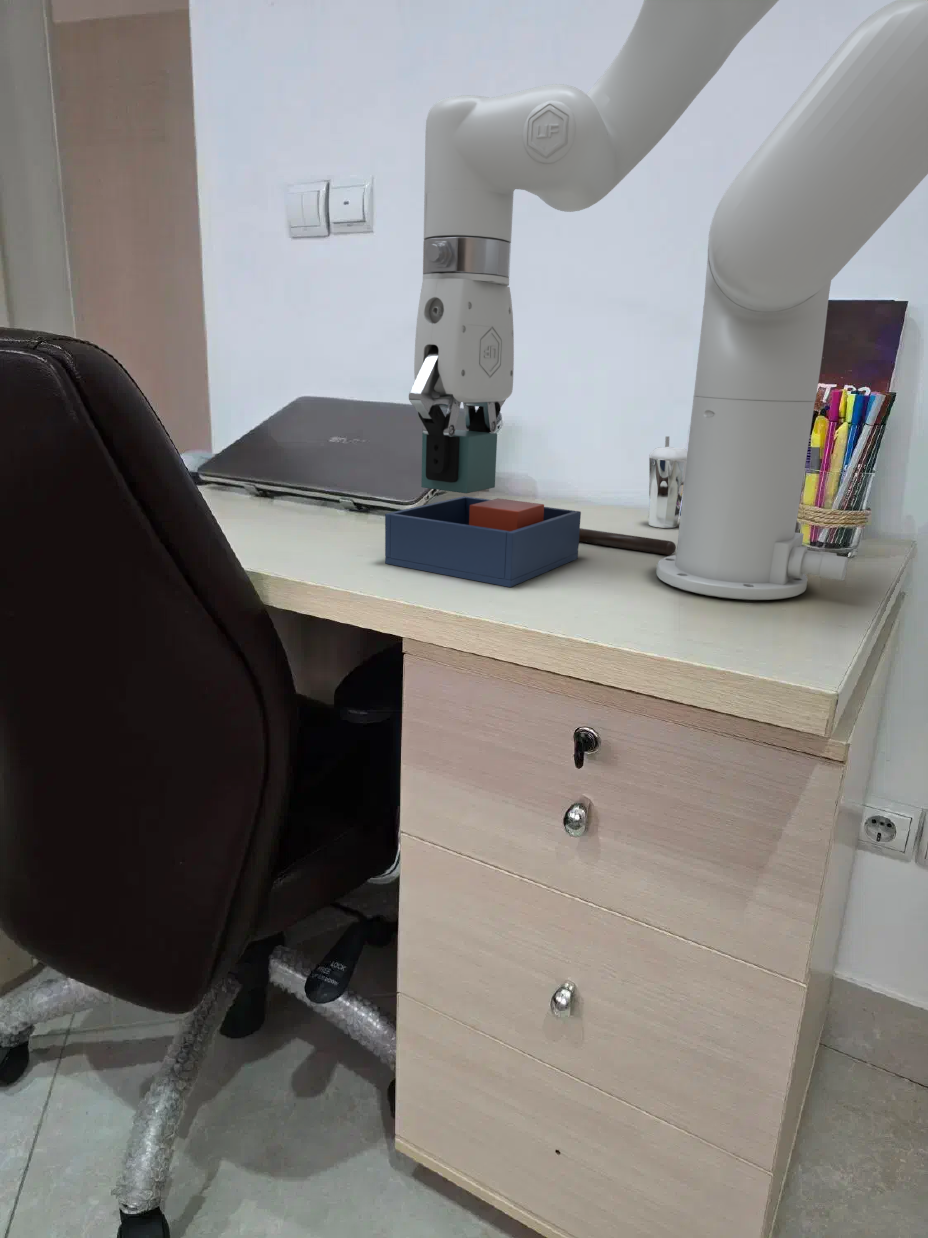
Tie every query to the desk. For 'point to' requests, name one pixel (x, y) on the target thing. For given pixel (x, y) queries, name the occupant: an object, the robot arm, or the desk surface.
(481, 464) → the block teal
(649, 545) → the dark brown dowel rod
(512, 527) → the block red
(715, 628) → the desk surface
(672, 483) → the milkshake
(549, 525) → the basket
